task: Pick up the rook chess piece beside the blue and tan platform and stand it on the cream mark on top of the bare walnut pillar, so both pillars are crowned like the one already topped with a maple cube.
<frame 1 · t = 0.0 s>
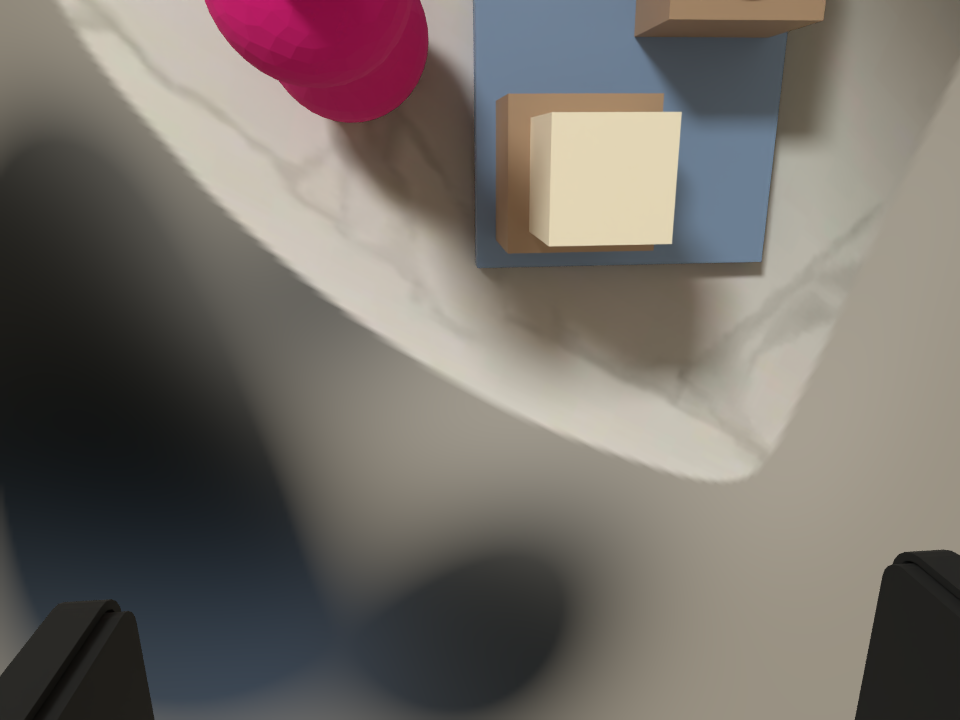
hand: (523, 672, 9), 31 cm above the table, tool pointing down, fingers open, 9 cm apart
blue and tan platform: (625, 71, 36), on the table
pepper mill: (355, 50, 35), on the table
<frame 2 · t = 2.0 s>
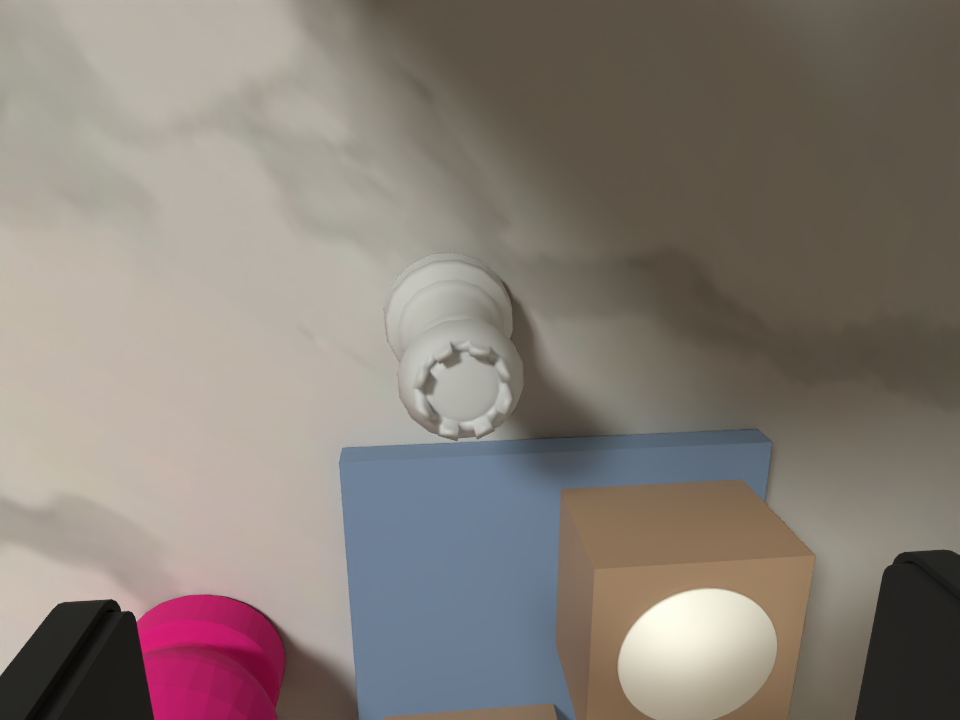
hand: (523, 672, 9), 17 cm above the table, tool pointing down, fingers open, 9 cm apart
blue and tan platform: (548, 653, 29), on the table
rook chess piece: (447, 312, 25), on the table
pepper mill: (208, 654, 28), on the table
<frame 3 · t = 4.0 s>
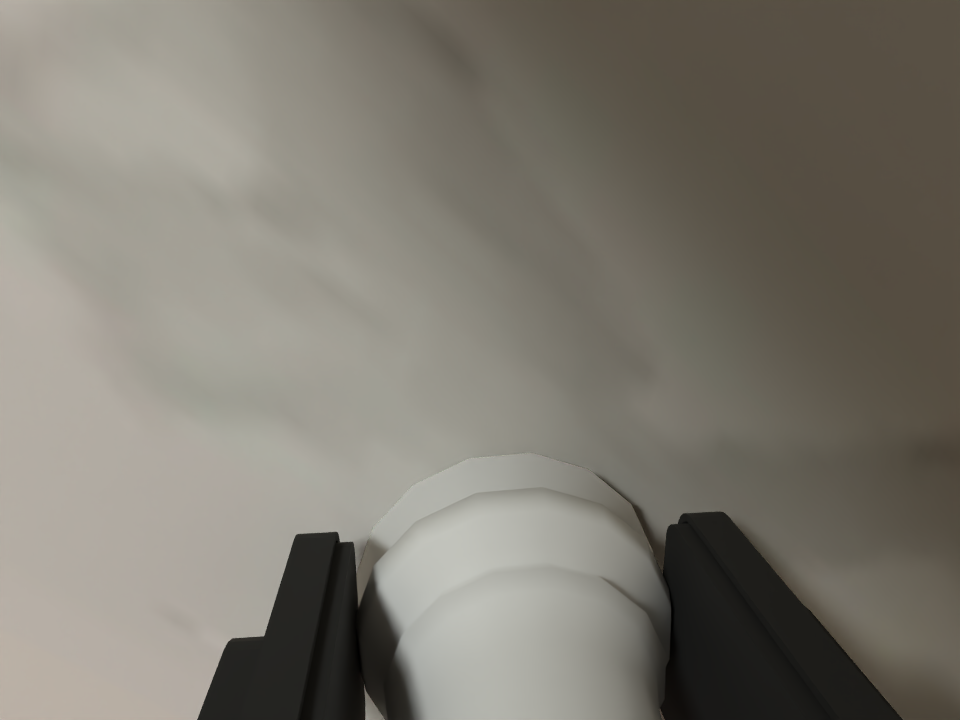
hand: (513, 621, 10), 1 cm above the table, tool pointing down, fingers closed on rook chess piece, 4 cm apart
rook chess piece: (501, 563, 11), on the table, touching gripper
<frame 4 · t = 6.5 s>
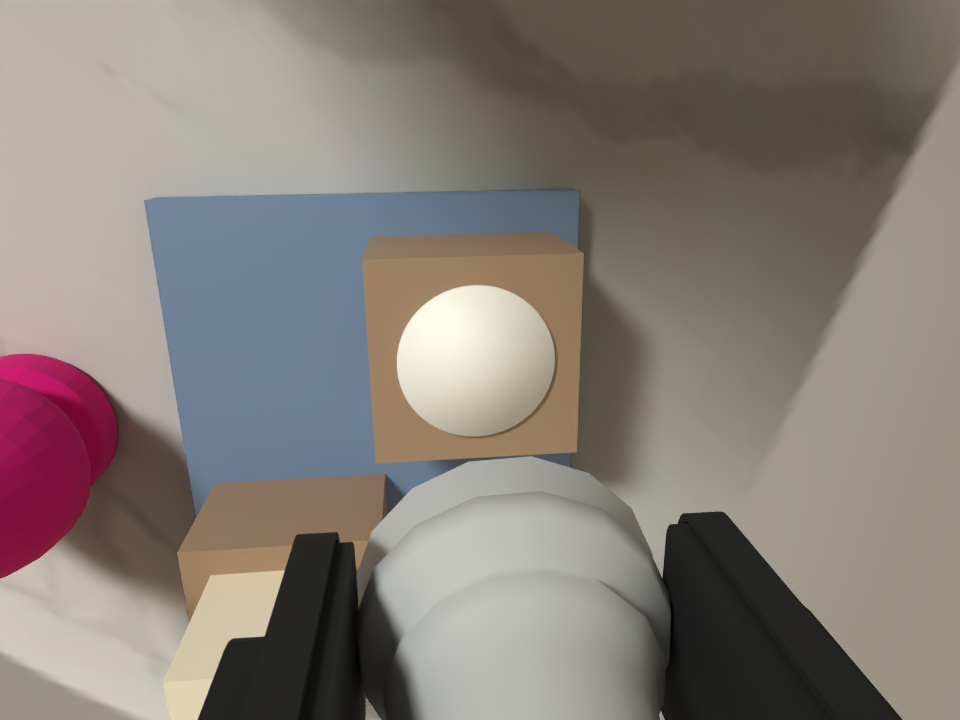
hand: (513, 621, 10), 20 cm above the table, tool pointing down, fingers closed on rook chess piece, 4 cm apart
blue and tan platform: (384, 429, 30), on the table
rook chess piece: (501, 567, 11), point 19 cm above the table, touching gripper
pepper mill: (42, 422, 28), on the table
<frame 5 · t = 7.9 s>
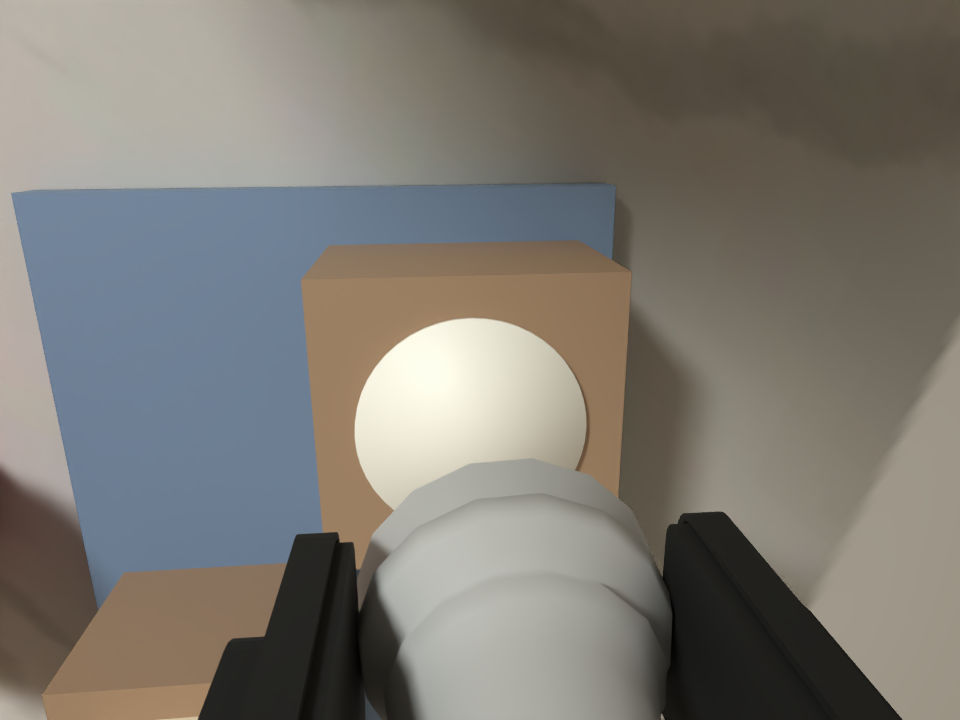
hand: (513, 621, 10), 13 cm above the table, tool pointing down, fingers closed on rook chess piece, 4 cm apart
blue and tan platform: (351, 498, 23), on the table
rook chess piece: (502, 568, 11), point 11 cm above the table, touching gripper
when the fingers open (9 cm above the table, at t = 8.9 s): rook chess piece stays where it is, resting on blue and tan platform.
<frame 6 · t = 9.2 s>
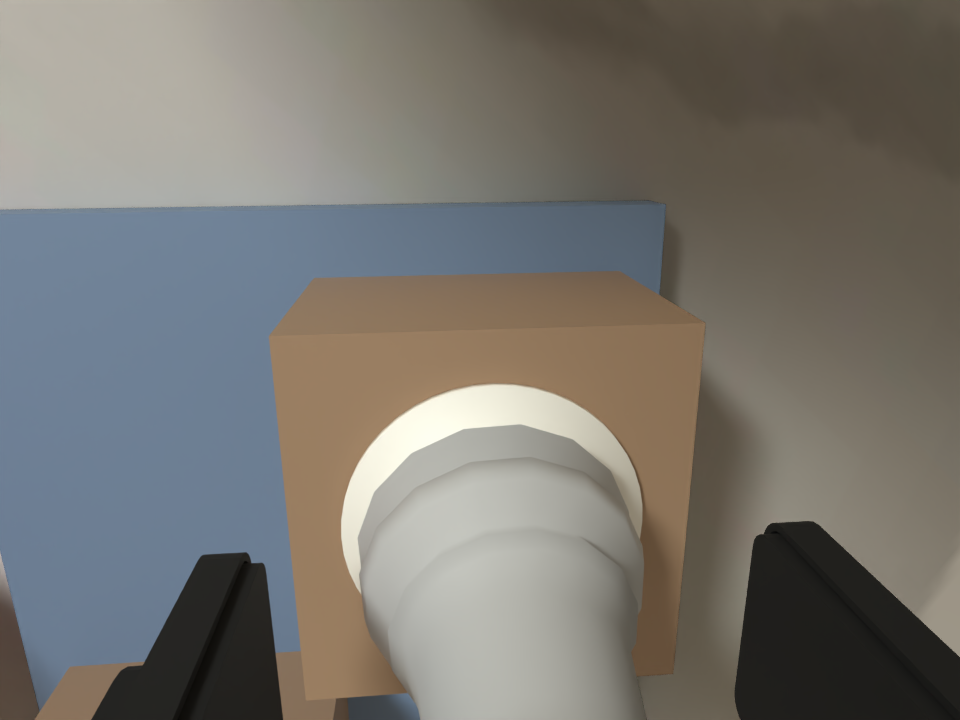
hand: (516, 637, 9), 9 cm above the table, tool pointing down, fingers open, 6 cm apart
blue and tan platform: (344, 573, 19), on the table
rook chess piece: (491, 522, 12), point 6 cm above the table, touching blue and tan platform
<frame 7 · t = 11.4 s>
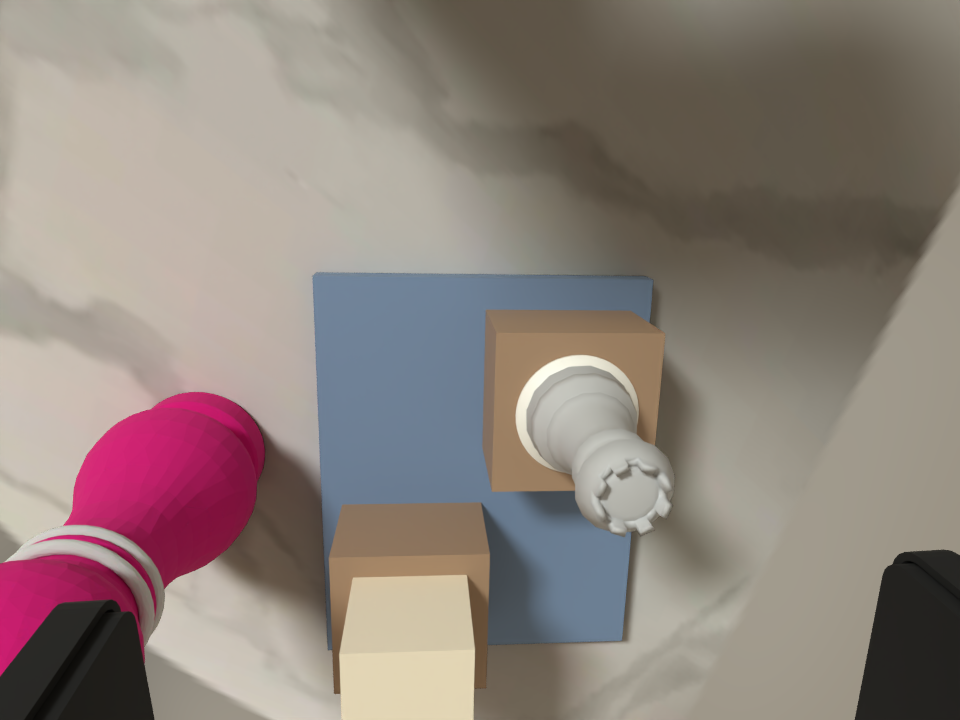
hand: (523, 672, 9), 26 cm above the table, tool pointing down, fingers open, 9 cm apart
blue and tan platform: (479, 465, 36), on the table
rook chess piece: (575, 411, 29), point 6 cm above the table, touching blue and tan platform
pepper mill: (203, 448, 35), on the table
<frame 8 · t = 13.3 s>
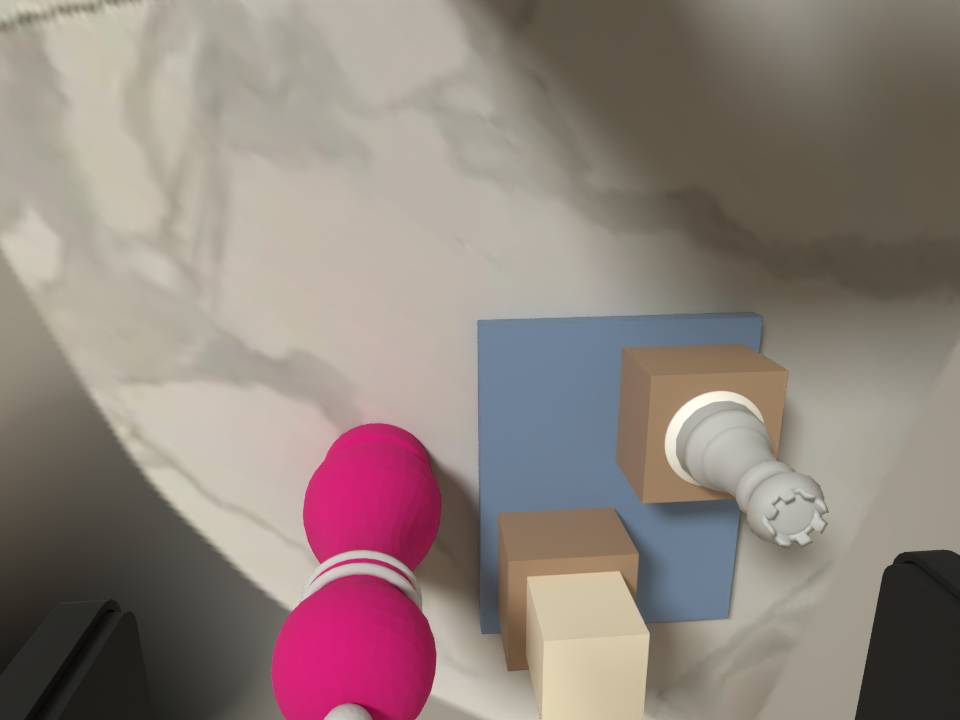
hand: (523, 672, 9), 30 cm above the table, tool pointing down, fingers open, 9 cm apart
blue and tan platform: (609, 475, 42), on the table
rook chess piece: (713, 436, 35), point 6 cm above the table, touching blue and tan platform
pepper mill: (377, 469, 41), on the table
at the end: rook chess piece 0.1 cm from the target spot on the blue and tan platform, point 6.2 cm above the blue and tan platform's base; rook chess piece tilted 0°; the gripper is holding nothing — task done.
